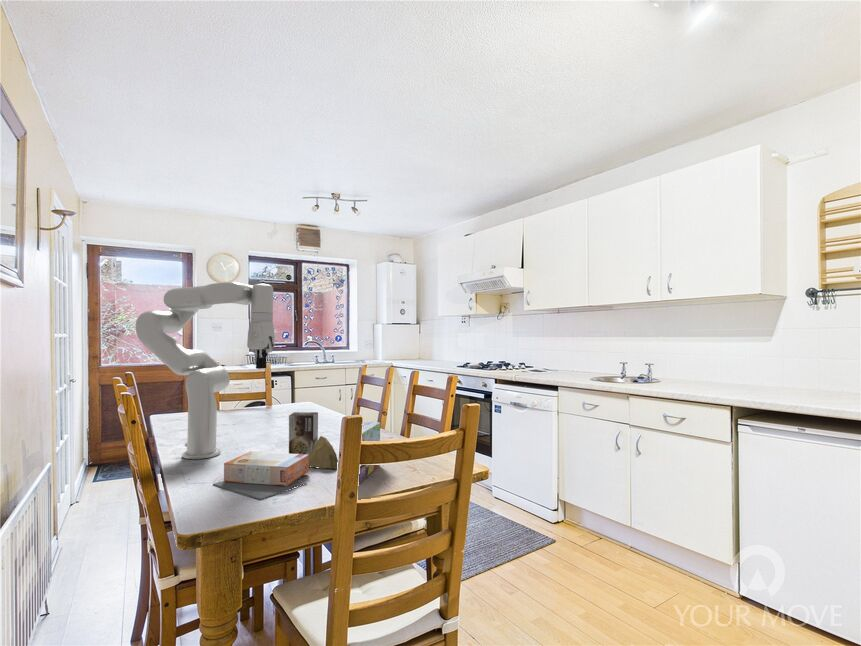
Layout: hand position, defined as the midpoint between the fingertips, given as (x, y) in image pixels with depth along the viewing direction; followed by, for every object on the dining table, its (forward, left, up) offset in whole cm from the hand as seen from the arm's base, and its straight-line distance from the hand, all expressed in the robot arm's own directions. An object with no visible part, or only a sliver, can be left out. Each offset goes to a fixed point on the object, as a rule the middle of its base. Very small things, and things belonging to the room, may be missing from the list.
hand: (261, 368), depth 166 cm
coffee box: (+14, +8, -32) cm, 36 cm away
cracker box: (+13, -18, -29) cm, 37 cm away
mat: (+26, -19, -32) cm, 45 cm away
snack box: (+44, +6, -32) cm, 55 cm away
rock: (+28, +4, -32) cm, 43 cm away
